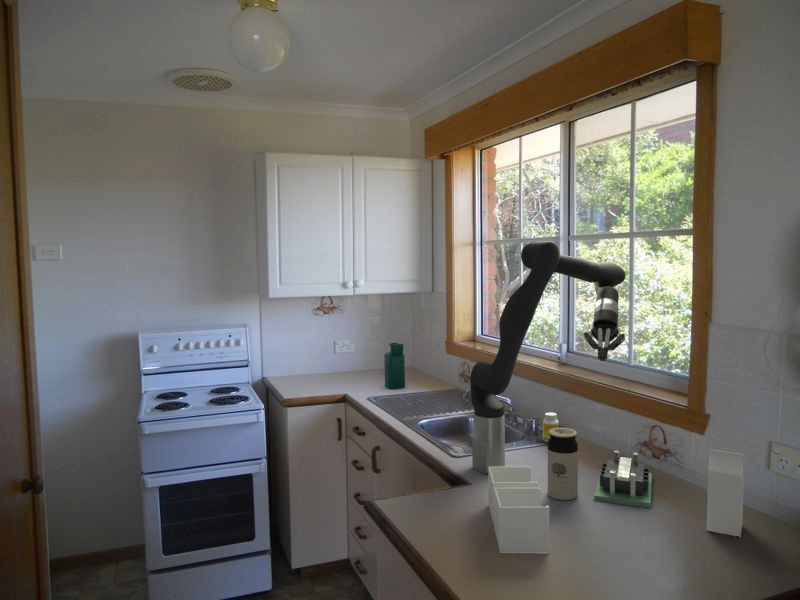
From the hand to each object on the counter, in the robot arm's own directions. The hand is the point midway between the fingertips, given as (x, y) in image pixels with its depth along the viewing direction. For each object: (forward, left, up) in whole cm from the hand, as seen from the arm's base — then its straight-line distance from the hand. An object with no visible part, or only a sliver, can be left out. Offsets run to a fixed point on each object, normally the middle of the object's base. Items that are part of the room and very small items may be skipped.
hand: (602, 359), depth 188 cm
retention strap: (-12, -16, -28) cm, 34 cm away
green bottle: (+11, +124, -33) cm, 129 cm away
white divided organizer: (-53, -13, -33) cm, 64 cm away
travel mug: (-29, -8, -33) cm, 45 cm away
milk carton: (-15, -45, -33) cm, 58 cm away
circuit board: (-12, -16, -33) cm, 38 cm away
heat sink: (-13, -16, -32) cm, 38 cm away
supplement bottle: (+5, +24, -33) cm, 41 cm away
